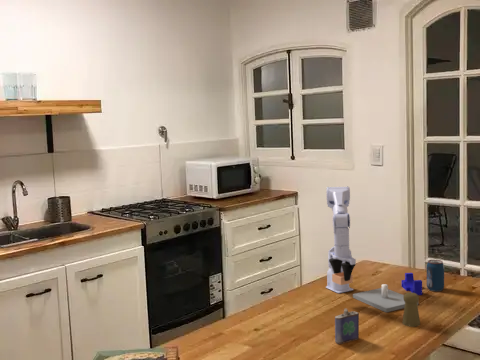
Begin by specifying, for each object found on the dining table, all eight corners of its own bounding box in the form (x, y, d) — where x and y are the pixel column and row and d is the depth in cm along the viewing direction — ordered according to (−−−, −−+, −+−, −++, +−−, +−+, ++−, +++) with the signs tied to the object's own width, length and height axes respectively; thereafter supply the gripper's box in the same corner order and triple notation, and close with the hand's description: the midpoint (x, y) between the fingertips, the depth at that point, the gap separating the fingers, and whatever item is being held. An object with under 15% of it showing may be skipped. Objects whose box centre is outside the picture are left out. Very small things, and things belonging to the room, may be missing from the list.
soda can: (445, 288, 233) (445, 260, 232) (442, 292, 227) (442, 264, 226) (428, 285, 237) (428, 258, 236) (424, 290, 231) (424, 262, 230)
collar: (332, 281, 219) (332, 274, 219) (343, 279, 221) (343, 271, 221) (340, 285, 214) (340, 277, 214) (352, 282, 216) (352, 275, 216)
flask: (338, 345, 181) (337, 313, 180) (332, 341, 183) (332, 310, 182) (360, 339, 185) (360, 307, 184) (355, 336, 188) (354, 305, 186)
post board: (352, 297, 226) (352, 282, 225) (383, 290, 233) (383, 275, 232) (386, 312, 208) (386, 295, 207) (418, 304, 215) (418, 288, 214)
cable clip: (401, 286, 238) (401, 273, 237) (411, 286, 238) (411, 272, 237) (411, 295, 226) (411, 281, 225) (422, 295, 226) (422, 281, 225)
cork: (411, 328, 192) (411, 297, 191) (398, 322, 198) (398, 292, 196) (423, 324, 195) (423, 294, 194) (411, 319, 200) (411, 289, 199)
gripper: (322, 242, 221) (323, 275, 222) (344, 249, 208) (345, 284, 209) (336, 240, 224) (337, 272, 225) (359, 247, 211) (360, 281, 212)
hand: (342, 278), depth 218 cm, fingers closed on collar, 6 cm apart
